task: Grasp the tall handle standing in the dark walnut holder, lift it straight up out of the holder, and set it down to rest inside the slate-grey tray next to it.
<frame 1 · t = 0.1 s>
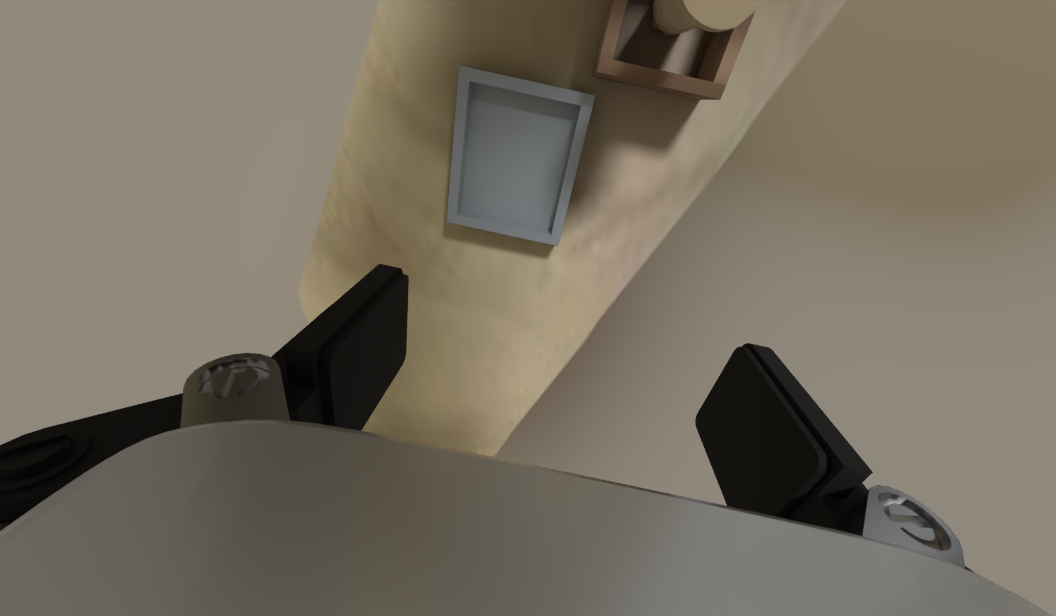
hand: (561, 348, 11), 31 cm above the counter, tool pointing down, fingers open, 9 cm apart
handle: (669, 12, 31), resting in holder
tray: (516, 161, 38), on the counter
holder: (669, 11, 31), on the counter
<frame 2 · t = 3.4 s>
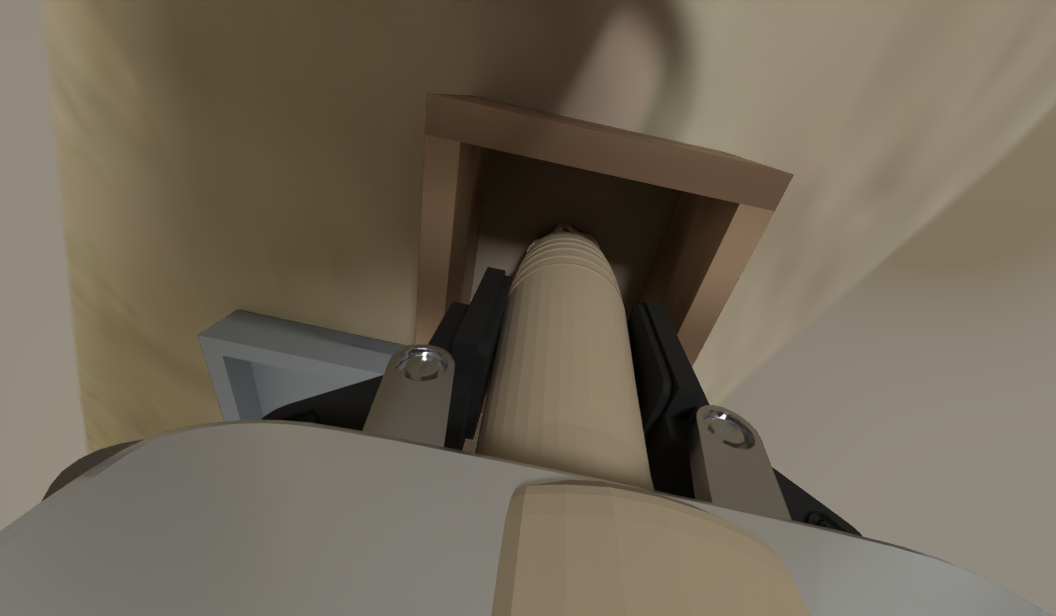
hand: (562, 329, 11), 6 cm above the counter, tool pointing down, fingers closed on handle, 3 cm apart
handle: (564, 254, 17), resting in holder, touching gripper
tray: (351, 422, 24), on the counter
holder: (564, 255, 17), on the counter
when the fingers open (9 cm above the counter, at t = 10.9 s): handle drops 2 cm, resting on tray.
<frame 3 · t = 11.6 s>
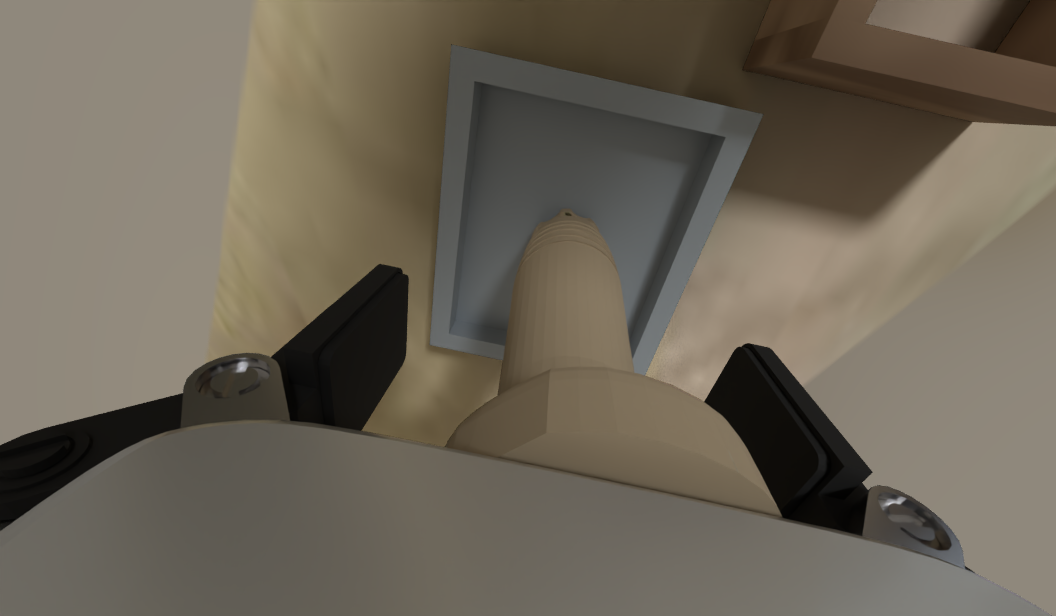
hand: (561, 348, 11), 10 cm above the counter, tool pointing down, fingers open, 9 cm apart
handle: (565, 237, 19), point 1 cm above the counter, touching tray
tray: (564, 235, 20), on the counter
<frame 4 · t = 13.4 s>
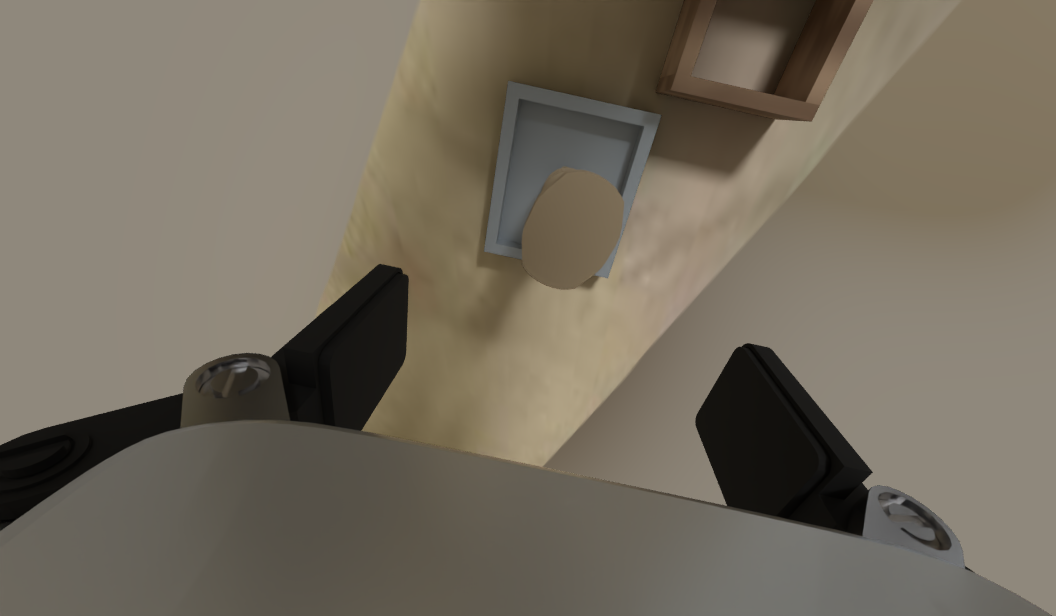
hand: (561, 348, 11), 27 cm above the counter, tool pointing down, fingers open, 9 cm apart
handle: (564, 184, 33), point 1 cm above the counter, touching tray
tray: (563, 184, 34), on the counter
holder: (748, 22, 27), on the counter
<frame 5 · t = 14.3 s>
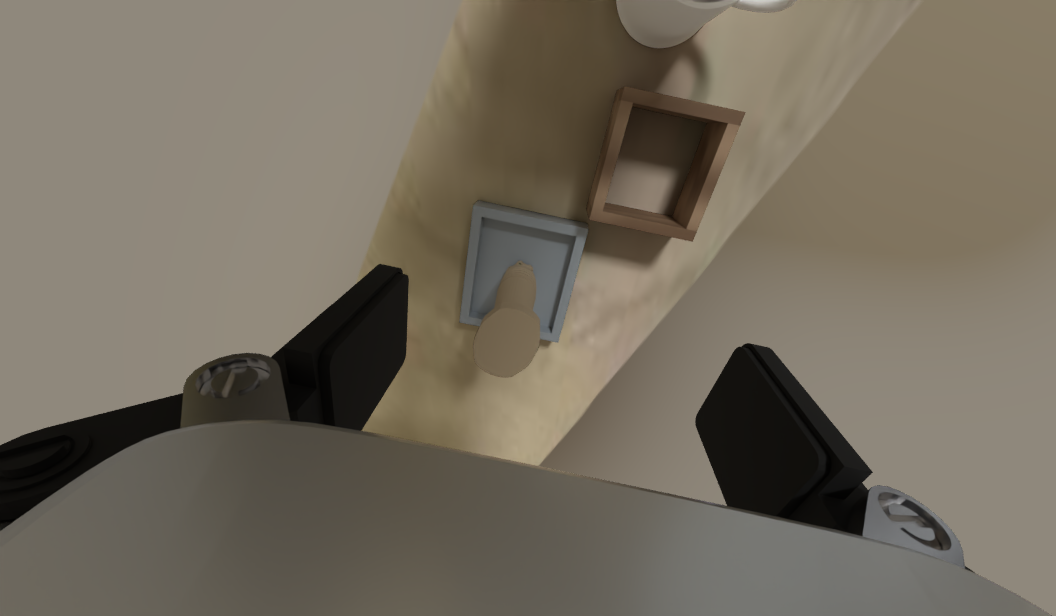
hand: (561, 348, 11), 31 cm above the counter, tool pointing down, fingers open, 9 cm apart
handle: (521, 272, 42), point 1 cm above the counter, touching tray
tray: (521, 271, 43), on the counter
holder: (649, 164, 37), on the counter
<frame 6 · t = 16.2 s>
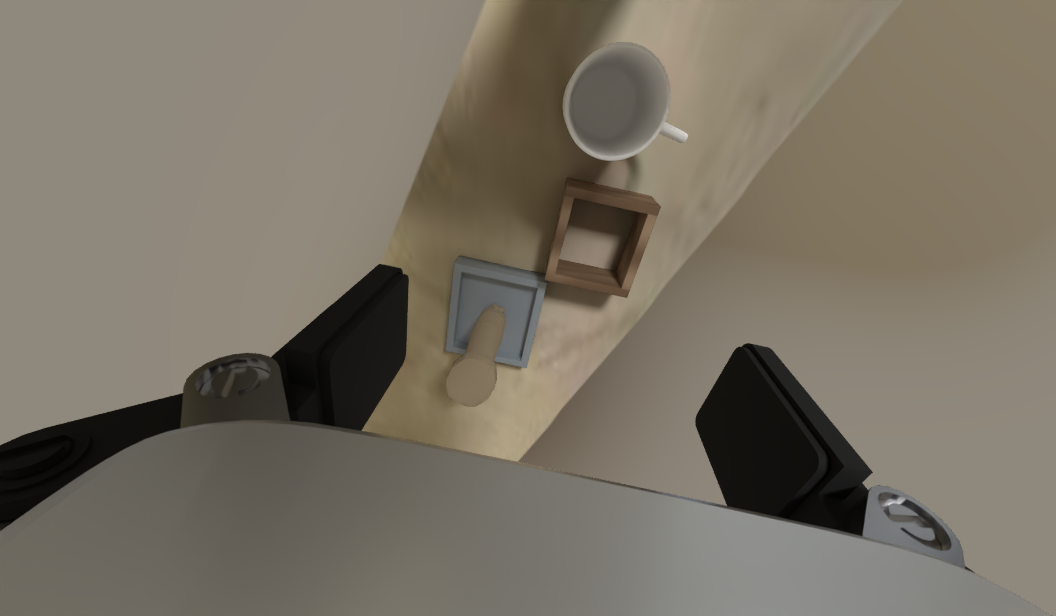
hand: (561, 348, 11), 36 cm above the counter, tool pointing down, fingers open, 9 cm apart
handle: (495, 312, 52), point 1 cm above the counter, touching tray
mug: (616, 112, 39), on the counter
tray: (496, 310, 52), on the counter
holder: (596, 231, 46), on the counter
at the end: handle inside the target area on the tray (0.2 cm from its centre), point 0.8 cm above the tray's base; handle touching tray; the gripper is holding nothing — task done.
